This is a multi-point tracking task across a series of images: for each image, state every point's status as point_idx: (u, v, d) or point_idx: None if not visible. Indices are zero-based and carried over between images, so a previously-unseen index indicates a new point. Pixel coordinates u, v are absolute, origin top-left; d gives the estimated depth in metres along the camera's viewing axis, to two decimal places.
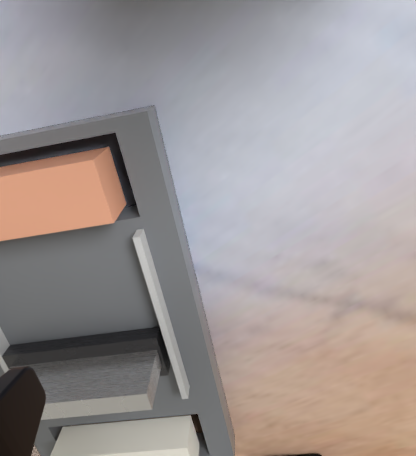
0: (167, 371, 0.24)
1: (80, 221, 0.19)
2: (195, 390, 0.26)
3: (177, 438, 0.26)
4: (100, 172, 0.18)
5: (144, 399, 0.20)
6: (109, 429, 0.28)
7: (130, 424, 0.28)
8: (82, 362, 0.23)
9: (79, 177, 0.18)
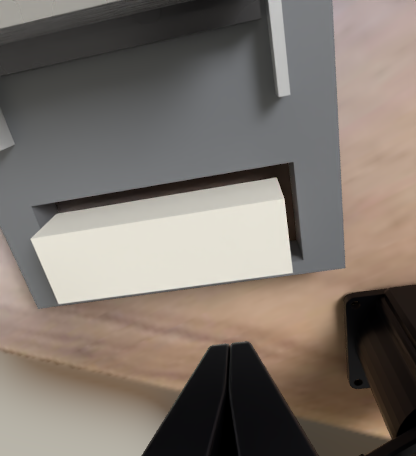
0: (260, 10, 0.12)
1: None
2: (296, 102, 0.14)
3: (260, 195, 0.15)
4: None
5: None
6: (135, 205, 0.16)
7: (171, 197, 0.16)
8: None
9: None
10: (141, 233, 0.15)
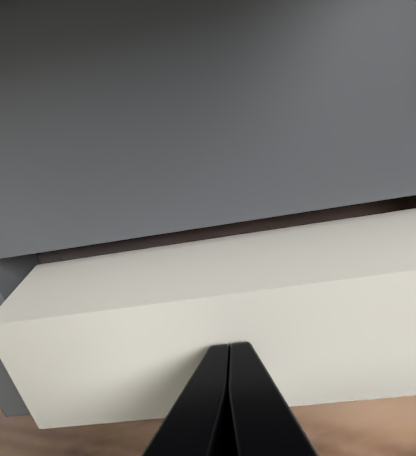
0: None
1: None
2: None
3: None
4: None
5: None
6: (176, 255, 0.09)
7: (239, 240, 0.09)
8: None
9: None
10: (193, 319, 0.08)
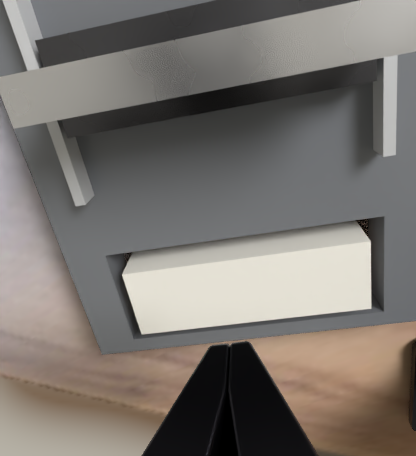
0: (375, 73, 0.12)
1: None
2: (393, 158, 0.14)
3: (343, 235, 0.15)
4: None
5: (407, 13, 0.08)
6: (216, 240, 0.17)
7: None
8: None
9: None
10: (229, 270, 0.16)
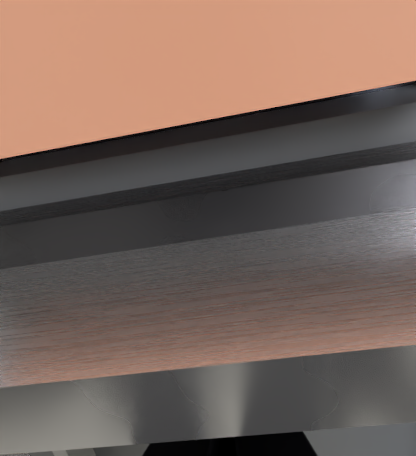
0: None
1: None
2: None
3: None
4: None
5: None
6: None
7: None
8: (222, 245, 0.07)
9: None
10: None
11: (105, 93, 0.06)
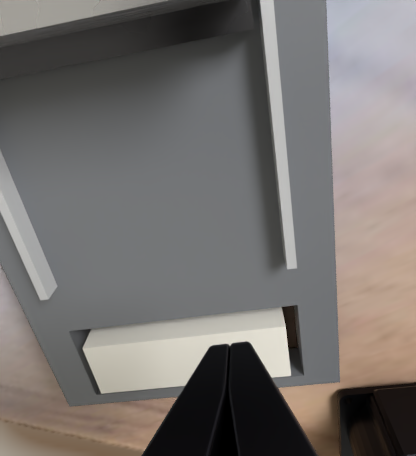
0: (252, 21, 0.12)
1: None
2: (301, 263, 0.17)
3: (266, 317, 0.19)
4: None
5: None
6: None
7: None
8: None
9: None
10: (171, 346, 0.19)
11: None
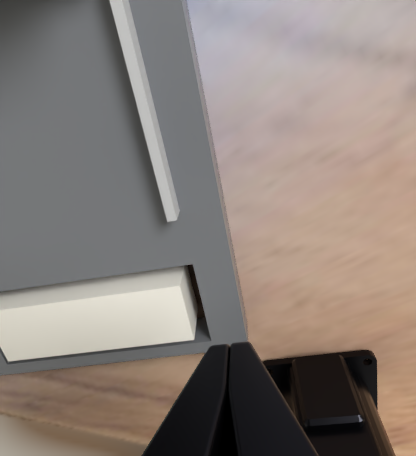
0: None
1: None
2: (189, 218, 0.17)
3: (165, 279, 0.18)
4: None
5: None
6: None
7: None
8: None
9: None
10: (69, 309, 0.18)
11: None
